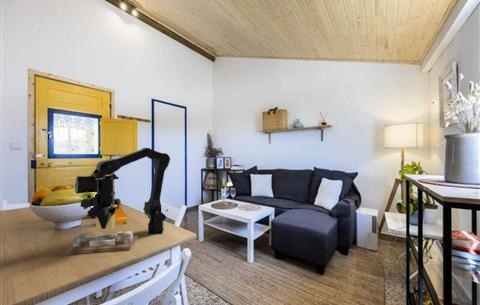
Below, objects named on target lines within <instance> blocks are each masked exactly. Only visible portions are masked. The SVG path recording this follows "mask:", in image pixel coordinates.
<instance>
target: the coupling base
mask: <svg viewBox="0 0 480 305" xmlns="http://www.w3.org/2000/svg"><path fill="white" fill-rule="evenodd" d="M138 238H139V235H138V234H136V235H135V234H134V231H133V230H132V231H131V230H129V231H128V230H120V231H118V232H117V233H111V234H96V236H94V237H93V232H87V233H79V234H76V235H75V236H73V237H72V242H73V243H72V246H71V247H70V248H68V249H67V250H66V255H80V254H81V255H82V254H93V253H95V254H96V253H107V252H110V253H111V252H121V251H131V250H132V248H133V246H134V245H135V244H136V242H137V241H138Z"/></svg>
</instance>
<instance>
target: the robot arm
mask: <svg viewBox="0 0 480 305" xmlns="http://www.w3.org/2000/svg"><path fill="white" fill-rule="evenodd" d="M144 158H148V159H149V160H151V161H152V165H153V170H154V172H153V173H154V174H153V178H152V179H153V180H152V183H151V184H152V185H151V188H150V197H149V199H148V200H147V201H144V206H143V208H142V210H143V213H144V215H145V216H147V217H148V219H149V221H148V224H147V228H148V229H147V231H148V235H155V234H156V235H157V234H158V235H159V234H160V235H161V234H163V232H164V231H165V230H164V229H165V228H164V221H166V218H167V215H165V214H164V212H162V203H161V197H162V196H161V195H162V188H163V184H164V178H165V177H164V176H165V172H166V170H167V168H168V167H169V165H170V161H171V157H170V155H169V154H168V153H166V152H159V151H157V150H154V149H152V148H150V147H143V148H141V149H138V150H136V151H134V152H130V153H128V154H125V155H122V156H120V157H118V158H115V157H114V158H110V159H106V160H100V161H99V162H98V163H97V164H96V167H95V169H94V170H93V172H92V173H91V174H90V175H84V176H83V175H77V176H76V178H75V183H74V191H75V194H76V195H77V194H86V193H90V192H94V190H96V189H97V181H98V193H97V194H96V195H95V197H93V198H91V199H90V198H88V197H87V198H83V199H81V202H80V207H81V208H83V210H86V209H88V208H90V209H89V210H87V217H88V218H91V217H95V216H96V217H97V218H98V220H99V222H100V225H101V228H102V229H105V227H106V225H107V222H108V219H109V216H110V214H114V213H115V211H116V209H117V208H118V207H117V206H119V205H120V204H121V200H120V198H114V195H115V194H116V191H114V180H119V179H120V177H119V176H117V175H116V173H115V172H117V171H119V170H120V169H121V168H122V167H124V166H126V165H129V164H131V163H133V162H136V161H139V160H141V159H144ZM102 177H103V178H102ZM97 178H99V179H97ZM115 204H116V206H115ZM113 205H114V206H113ZM121 205H122V204H121ZM91 206H94V207H93V208H91ZM98 206H99V207H98Z"/></svg>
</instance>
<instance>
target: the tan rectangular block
mask: <svg viewBox="0 0 480 305" xmlns="http://www.w3.org/2000/svg"><path fill="white" fill-rule="evenodd" d="M115 228H116V226H115V214H110V216H109V219H108V222H107V225H106V227H105V229H102V228H101V225H100V222H99V220H98V218H97V217H96V218H95V232H108V231H109V232H110V231H113V229H115Z"/></svg>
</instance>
